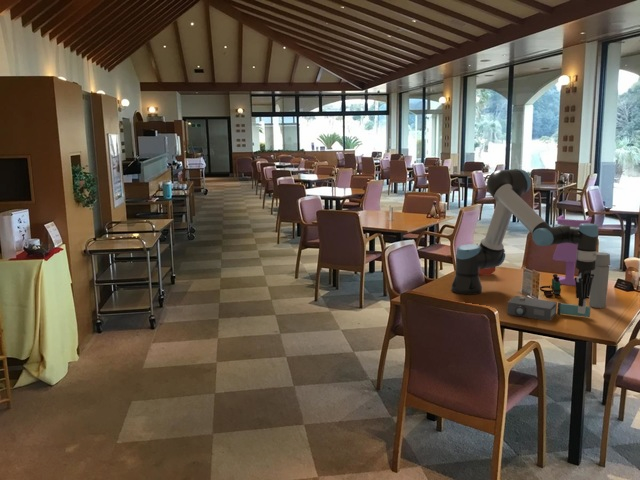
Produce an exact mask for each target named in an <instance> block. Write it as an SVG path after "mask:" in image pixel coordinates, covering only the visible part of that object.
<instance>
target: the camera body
mask: <svg viewBox="0 0 640 480" xmlns="http://www.w3.org/2000/svg"><path fill="white" fill-rule="evenodd" d="M557 310H558V301H553V300H545V299H539V298H532V297H526V296H519V295H515V296H513V297H512V298H511V299H510V300H509V301H507V311H506V313H507V315H511V316H517V317H523V318H527V317H528V319H534V320H539V321H545V322H546V321H547V322H550V321H552V319H553V318H554V317H555V316H556V315H557Z"/></svg>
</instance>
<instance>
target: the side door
mask: <svg viewBox="0 0 640 480" xmlns="http://www.w3.org/2000/svg"><path fill="white" fill-rule="evenodd" d="M591 308H592V307H591V306H590V305H589V306H588V305H586V311H585V314H581V313H578V305H577V304H570V303H562V302H558V301H557V309H556V315H569V316H576V317H585V318H590V317H591Z"/></svg>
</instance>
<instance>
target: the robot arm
mask: <svg viewBox="0 0 640 480" xmlns="http://www.w3.org/2000/svg"><path fill="white" fill-rule="evenodd" d="M531 179H532V178H531V177H530V174H529V173H528V172H527V171H526V170H524V169H520V168H519V169H518V168H514V169H513V168H512V169H498V170H495V171H493V172H492V173H491V174H490V175H489V176H488V178H487V181H486V189H487V191H488V193H489V195H491V197H492V198H493V199H494V200H495V201H496V204H495V208H494V211H493V214H492V216H491V219H490V223H489V226H488V228H487V232H486V235H485V237H484V238H482V239H481V240H480V243H479V244H478V245H476V244H477V243H474V244H473V243H469V244H468V243H467V244H461V245H459V246H458V247H457V248H456V251H455V252H456V254H455V273H454V278H453V281H452V284H451V288H450V289H451V291H452V292H454V293H456V294H462V295H478V294H481V293H482V292H483V287H482V284H481V279H480V274H479V269H484V268H494V267H495V268H497V267H499V266H501V265H502V264H503V263H504V262H505V260H506V259H505V258H506V253H505V252H506V251H505V247H504V244H503V241H504V238H505V236H506V232H507V230H508V228H509V224H510V221H511V218H512V216H514V217H515V218H516V220H518V221H519V222H520V223H521V224H522V225H523V226H524V227H525V228H526V229H527V230H528V231H529V232H530V234H532V235H531V236H532V241H533V243H534V244H535V245H537V246H539V247H549V246H552V245H557V244H561V243H572V244H578V245H577V256H576V258H577V260H576V263H575V268H576V269H577V270H578V274H577V277H575V276H574V278H575V282H576V286H575V298H576V299H578V301H577V304H578V313H581V314H585V311H586V306H587V300H589V296H590V290H591V285H592V280H593V277H594V274H591V272H592V270H594V269H595V264H596V262H595V261H594V260H596V256H597V254H596V252H597V251H598V250H597V248H598V247H597V246H598V241H599V226H598V224H595V223H590V224H589V223H582V224H580V225H579V227H575V226H569V225H565V224H564V225H562V224H559V225H558V224H556V225H555V226H551V225H549V224H548V223H547V221H545V220H544V219H543V218H542V217H541V216H540V215H539V214H538V213H537V211H535V210H534V209H533V208H532V207H531V206H530V205H529V204H528V203H527V202H526V201H525V200H524V199H523V197H522V196H523V194H525V193H527V192H528V191H529V190H531V189H530V188H531V186H532V180H531ZM479 245H480V246H479Z"/></svg>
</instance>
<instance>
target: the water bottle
mask: <svg viewBox="0 0 640 480" xmlns="http://www.w3.org/2000/svg"><path fill="white" fill-rule="evenodd" d="M596 254H597V256H596V260H594V261H595V262H596V264H595V269H594V270H591V271H592V272H591V274H594V277H593V280H592V285H591V290H590V295H589V296H588V297H589V299H588V305H589V307H591V308H595V309H603V308H606V306H607V298H608V285H609V276H610V275H609V273H610V266H611V255H610V253H609V252H603V251H602V252H601V251H598V252H597V251H596Z"/></svg>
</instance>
